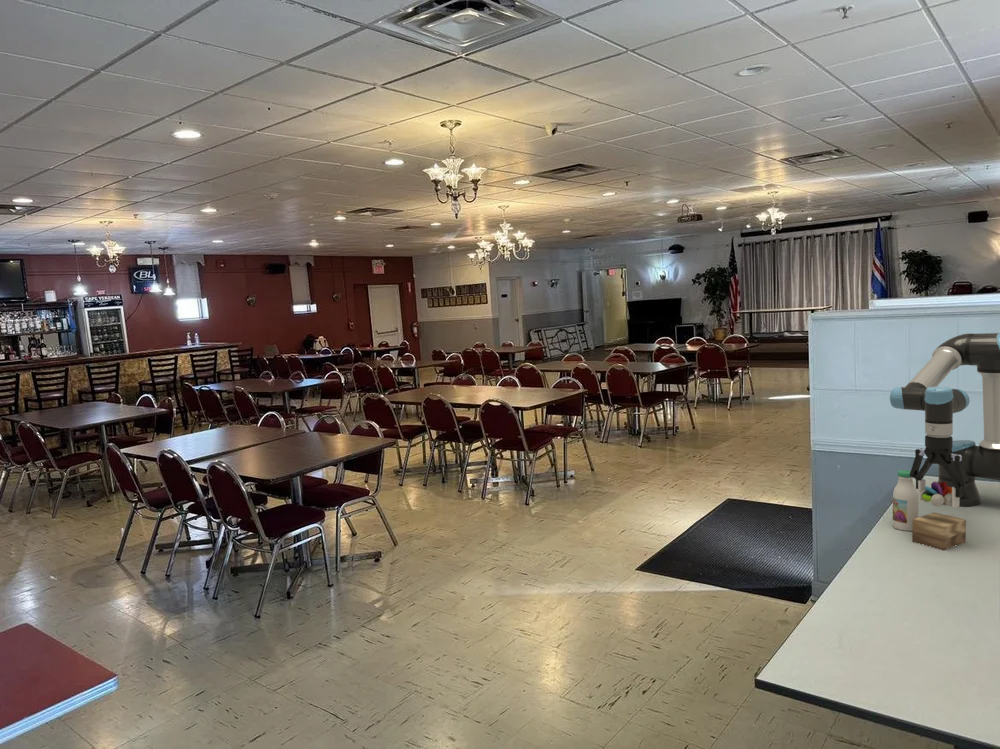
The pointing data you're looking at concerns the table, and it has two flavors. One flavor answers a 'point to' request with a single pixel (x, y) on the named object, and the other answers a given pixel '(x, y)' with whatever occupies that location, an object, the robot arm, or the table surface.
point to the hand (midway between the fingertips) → (938, 503)
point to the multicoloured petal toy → (937, 494)
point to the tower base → (938, 540)
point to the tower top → (939, 525)
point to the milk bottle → (904, 502)
